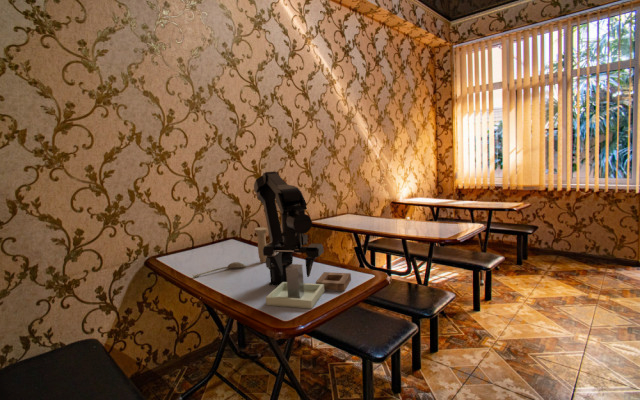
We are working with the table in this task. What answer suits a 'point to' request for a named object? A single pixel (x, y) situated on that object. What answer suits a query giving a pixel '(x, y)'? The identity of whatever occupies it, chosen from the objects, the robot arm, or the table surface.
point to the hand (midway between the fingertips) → (294, 275)
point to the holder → (334, 281)
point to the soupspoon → (235, 264)
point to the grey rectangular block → (295, 281)
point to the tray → (307, 301)
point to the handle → (261, 242)
